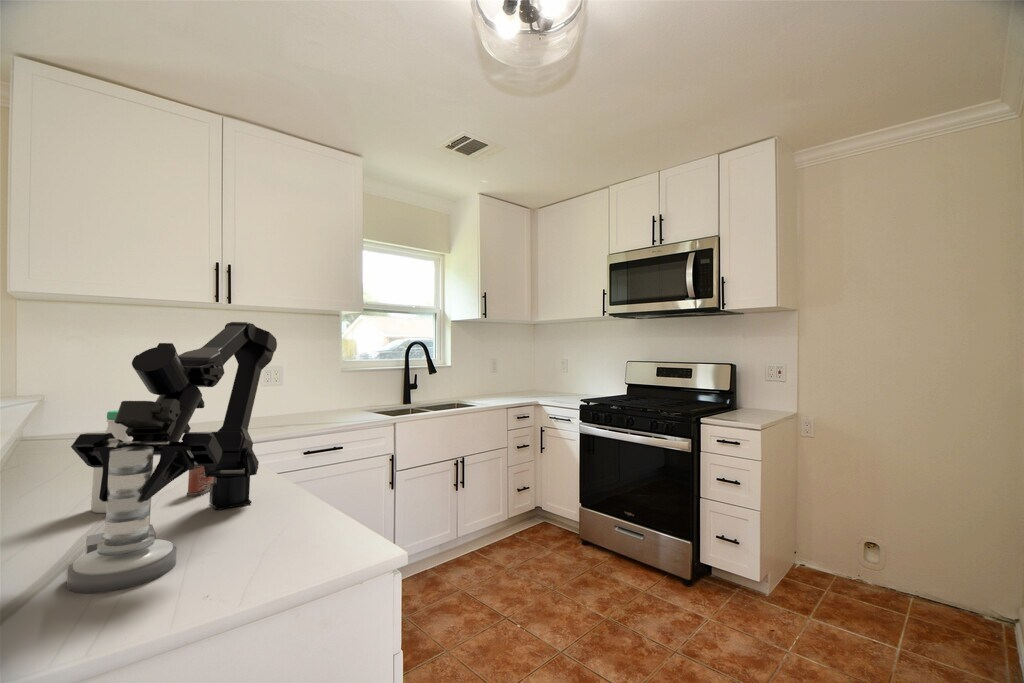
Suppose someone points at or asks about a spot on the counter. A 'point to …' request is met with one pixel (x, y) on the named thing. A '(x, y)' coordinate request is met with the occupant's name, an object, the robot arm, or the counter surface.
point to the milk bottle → (96, 503)
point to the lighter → (198, 482)
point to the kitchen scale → (119, 566)
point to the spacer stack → (127, 502)
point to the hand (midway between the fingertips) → (122, 499)
